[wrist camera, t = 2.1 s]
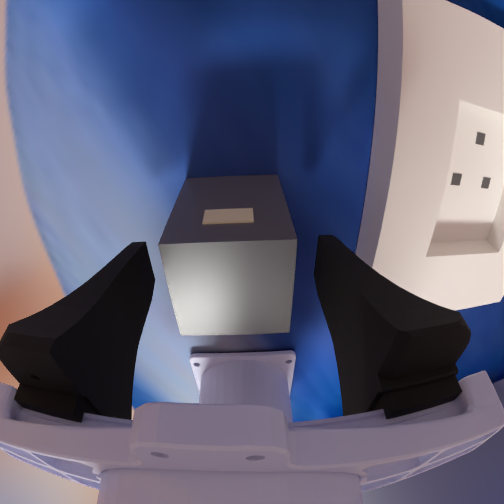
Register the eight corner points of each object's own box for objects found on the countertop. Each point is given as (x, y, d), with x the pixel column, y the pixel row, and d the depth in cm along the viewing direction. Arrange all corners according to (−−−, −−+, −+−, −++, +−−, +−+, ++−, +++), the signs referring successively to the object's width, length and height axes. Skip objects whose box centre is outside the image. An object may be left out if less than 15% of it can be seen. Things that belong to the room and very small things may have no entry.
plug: (275, 278, 18) (286, 360, 14) (200, 280, 18) (188, 362, 13) (277, 173, 15) (297, 237, 10) (186, 176, 15) (158, 242, 10)
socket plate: (484, 281, 20) (503, 306, 17) (346, 296, 19) (359, 331, 17) (537, 62, 10) (570, 71, 7) (377, -7, 9) (408, -18, 7)
